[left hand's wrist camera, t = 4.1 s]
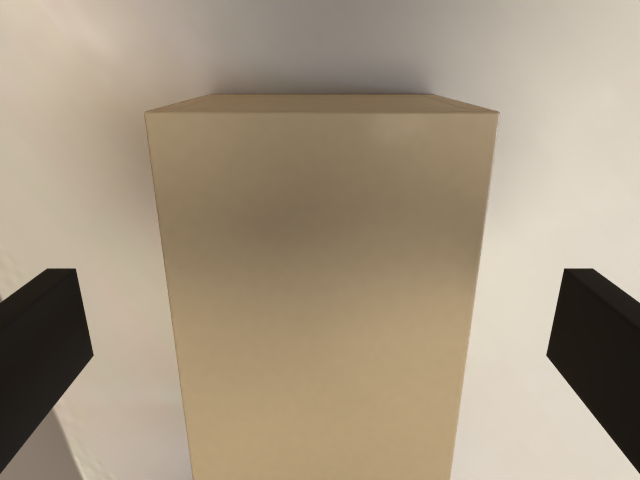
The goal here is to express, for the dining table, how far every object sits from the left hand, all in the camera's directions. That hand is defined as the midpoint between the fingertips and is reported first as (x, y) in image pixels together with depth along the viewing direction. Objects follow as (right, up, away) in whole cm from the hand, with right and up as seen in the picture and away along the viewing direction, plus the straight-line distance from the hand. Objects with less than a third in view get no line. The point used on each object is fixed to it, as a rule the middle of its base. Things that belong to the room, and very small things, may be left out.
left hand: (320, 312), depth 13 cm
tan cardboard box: (0, +1, +13) cm, 13 cm away
